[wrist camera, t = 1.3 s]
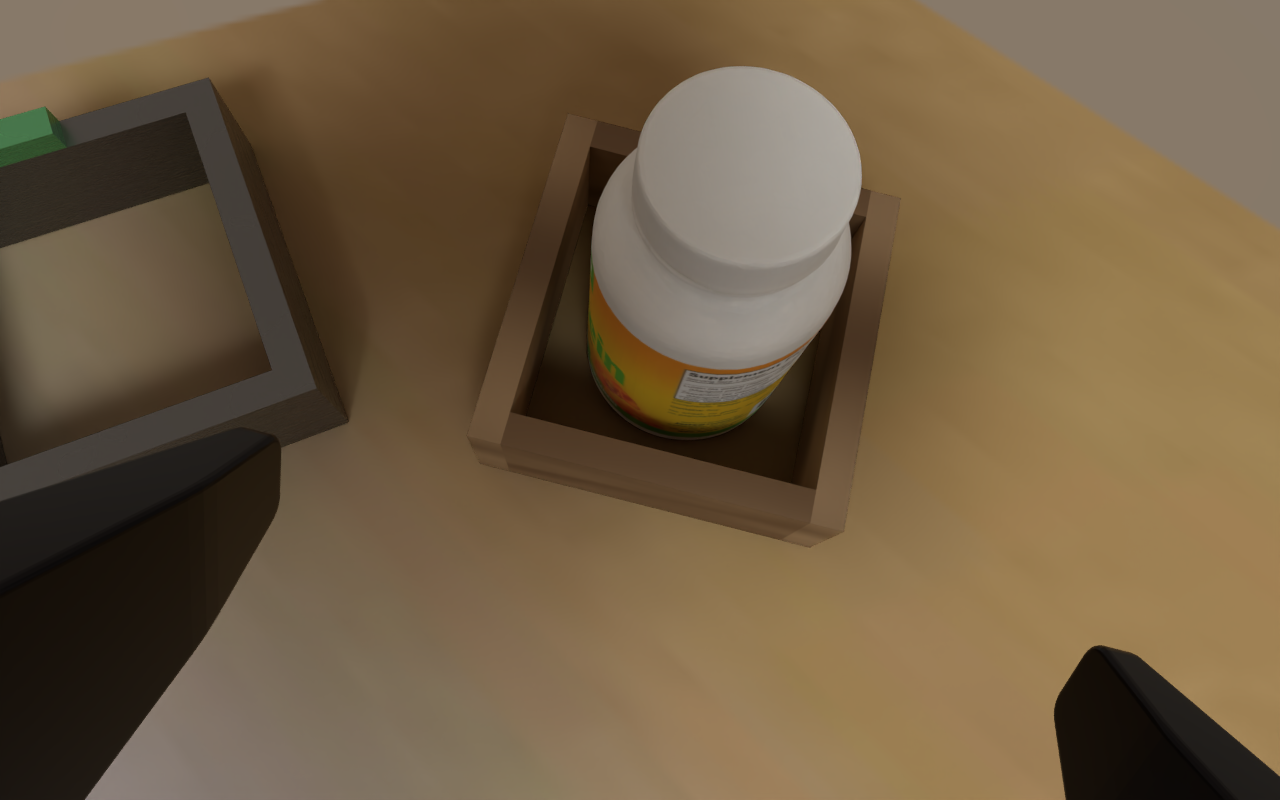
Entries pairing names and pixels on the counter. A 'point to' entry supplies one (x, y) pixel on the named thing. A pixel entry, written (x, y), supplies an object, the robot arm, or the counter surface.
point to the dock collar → (222, 155)
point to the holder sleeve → (652, 474)
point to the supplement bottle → (719, 250)
